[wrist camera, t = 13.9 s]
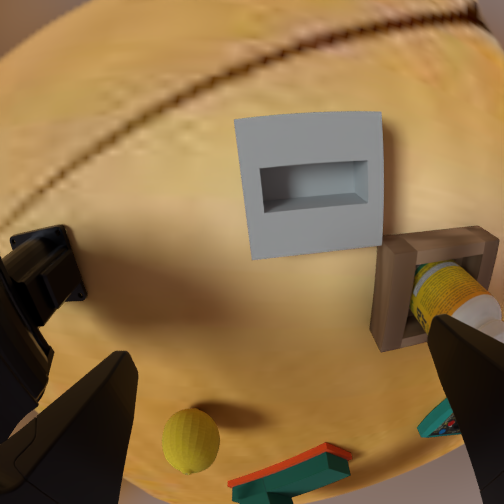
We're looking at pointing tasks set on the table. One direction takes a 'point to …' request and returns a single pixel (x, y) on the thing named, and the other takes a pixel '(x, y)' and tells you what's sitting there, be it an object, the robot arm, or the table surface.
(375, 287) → the walnut socket block
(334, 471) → the power tool
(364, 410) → the table surface
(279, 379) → the table surface
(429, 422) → the digital multimeter
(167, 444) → the lemon
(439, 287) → the supplement bottle
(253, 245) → the grey slot block
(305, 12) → the table surface
